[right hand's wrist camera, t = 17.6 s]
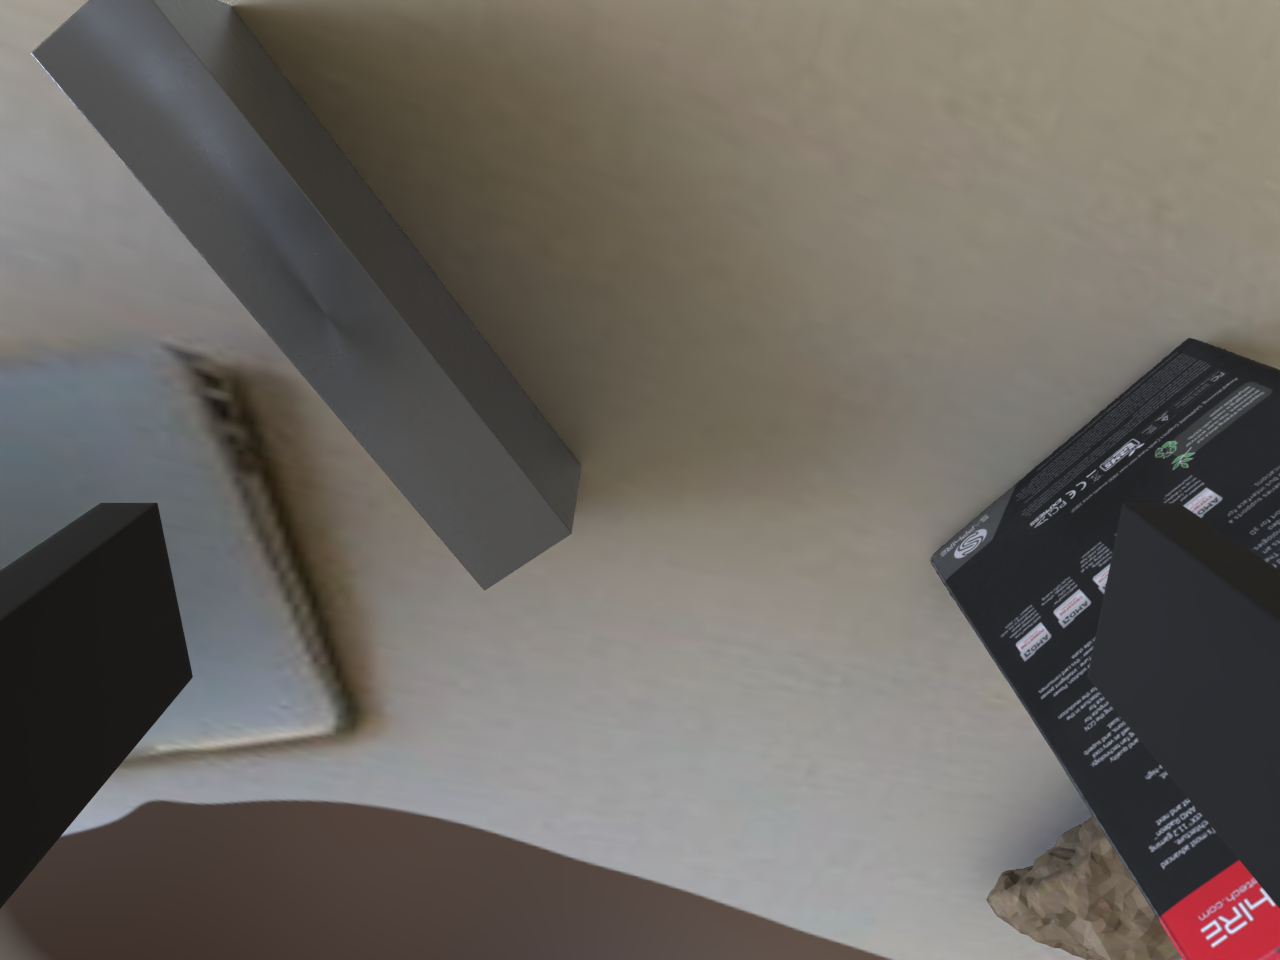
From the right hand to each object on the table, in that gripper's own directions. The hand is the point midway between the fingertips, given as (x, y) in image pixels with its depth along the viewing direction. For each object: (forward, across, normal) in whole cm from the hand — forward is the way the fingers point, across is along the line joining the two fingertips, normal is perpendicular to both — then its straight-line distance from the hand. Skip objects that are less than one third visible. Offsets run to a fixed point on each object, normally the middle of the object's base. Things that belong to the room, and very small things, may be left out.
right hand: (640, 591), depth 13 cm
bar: (+33, -12, -1) cm, 35 cm away
